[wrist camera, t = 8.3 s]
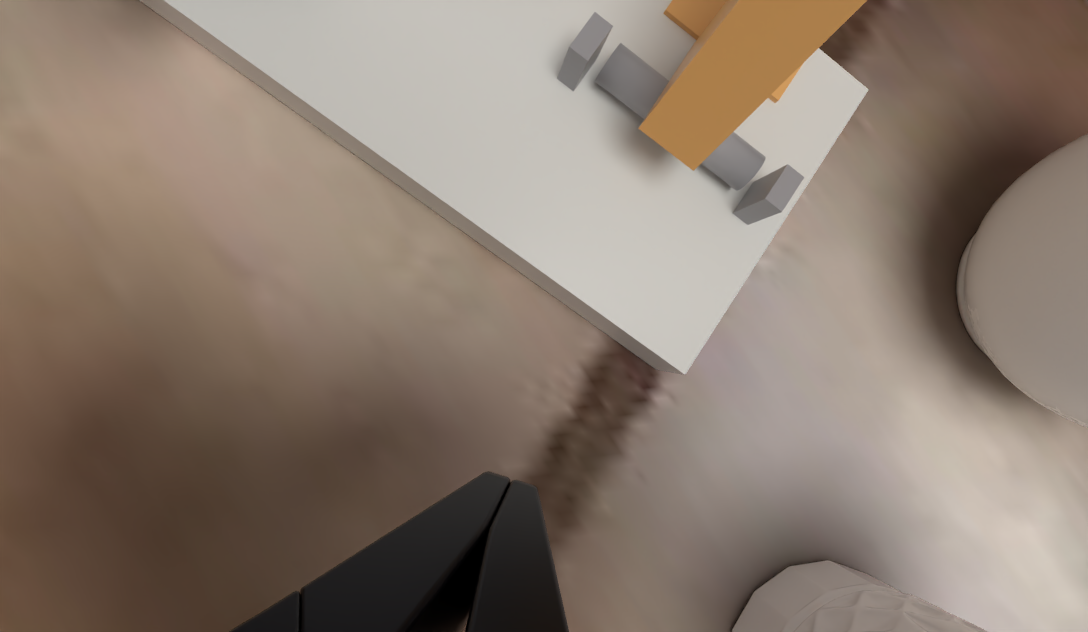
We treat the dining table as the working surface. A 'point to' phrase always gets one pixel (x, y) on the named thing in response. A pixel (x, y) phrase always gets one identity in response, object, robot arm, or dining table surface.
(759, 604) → the white cup
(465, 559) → the robot arm
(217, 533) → the dining table surface
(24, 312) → the dining table surface
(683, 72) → the orange rocker
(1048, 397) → the lidded jar
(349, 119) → the switch console
